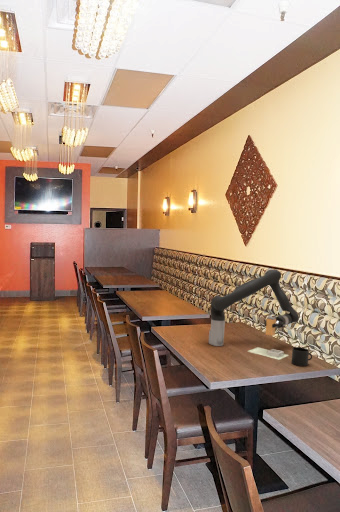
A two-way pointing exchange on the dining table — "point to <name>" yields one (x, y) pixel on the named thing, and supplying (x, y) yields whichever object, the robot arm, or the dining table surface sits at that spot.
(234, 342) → the dining table surface
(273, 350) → the pale green base plate
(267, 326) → the orange cylinder
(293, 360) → the mug
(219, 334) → the robot arm
